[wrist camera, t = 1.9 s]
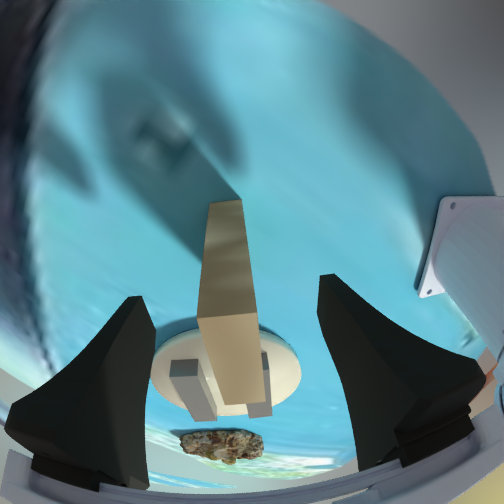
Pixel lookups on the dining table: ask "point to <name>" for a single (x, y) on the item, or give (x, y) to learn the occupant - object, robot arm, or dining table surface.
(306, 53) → the dining table surface
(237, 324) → the wooden block
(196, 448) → the mineral rock
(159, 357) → the clip base
